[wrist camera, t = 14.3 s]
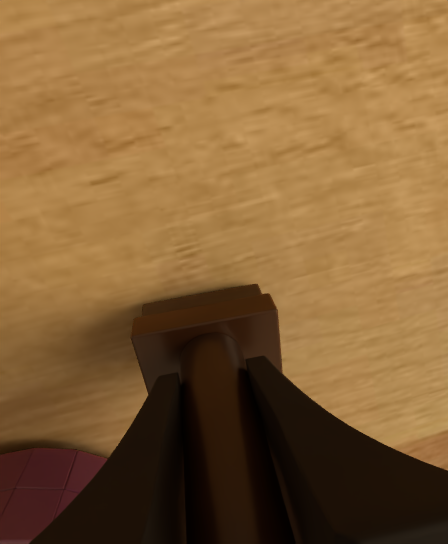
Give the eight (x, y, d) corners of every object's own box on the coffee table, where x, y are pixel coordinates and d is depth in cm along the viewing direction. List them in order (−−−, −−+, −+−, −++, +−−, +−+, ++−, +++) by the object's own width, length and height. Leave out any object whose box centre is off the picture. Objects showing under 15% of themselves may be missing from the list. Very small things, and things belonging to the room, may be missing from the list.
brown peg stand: (262, 277, 14) (379, 512, 6) (268, 337, 16) (370, 594, 8) (135, 300, 14) (89, 578, 6) (153, 359, 15) (134, 651, 7)
